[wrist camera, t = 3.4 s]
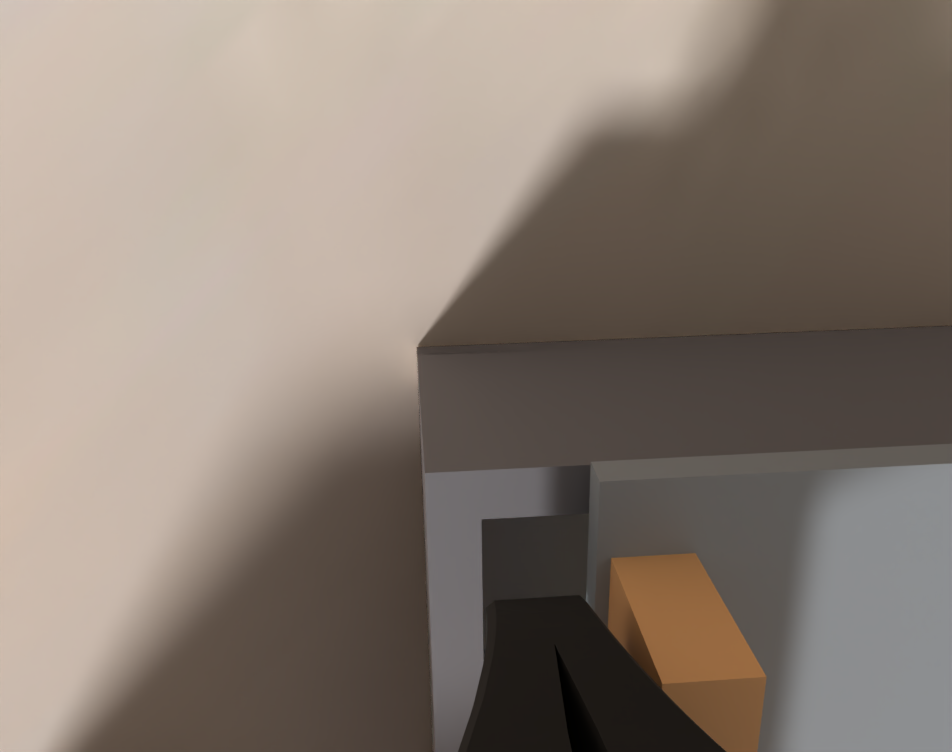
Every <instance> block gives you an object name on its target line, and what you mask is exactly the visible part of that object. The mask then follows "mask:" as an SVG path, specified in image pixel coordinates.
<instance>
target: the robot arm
mask: <svg viewBox="0 0 952 752" xmlns="http://www.w3.org/2000/svg"><path fill="white" fill-rule="evenodd" d="M485 609H486V649H485V656H484V662H483V667H482V672H481V676H480V680H479V684H478V688H477V692H476V696H475V700H474V704H473V708H472V711H471V714H470V717H469V720H468V723H467V726H466V729H465V732H464V735H463V738H462V741H461V744H460V747H459V750H458V752H726V751H725V750H724V749H723V748H722V747H721V746H720V745H718V744H717V743H716V742H715V741H714V740H713V739H712V738H711V737H710V736H709V735H708V734H707V733H706V732H704V731H703V730H702V729H701V728H700V727H699V726H698V725H697V724H696V723H695V722H694V721H693V720H692V719H691V718H690V717H689V716H688V715H687V714H686V713H685V712H684V711H683V710H682V709H681V708H680V707H679V706H678V705H677V704H676V703H674V702H673V701H672V699H671V698H670V697H669V696H668V695H667V694H666V693H665V692H664V691H663V690H662V689H661V688H660V687H659V686H658V685H657V684H656V683H655V681H654V680H653V679H652V678H651V677H650V676H649V675H648V674H647V673H646V672H645V671H644V670H643V669H642V668H641V666H640V665H639V664H638V663H637V662H636V661H635V660H634V659H633V657H632V656H631V655H630V654H629V653H628V652H627V651H626V649H625V648H624V647H623V646H622V645H621V643H620V642H619V641H618V640H617V639H616V638H615V636H614V635H613V634H612V633H611V632H610V630H609V629H608V628H607V627H606V625H605V624H604V623H603V622H602V621H601V619H600V618H599V617H598V616H597V614H596V613H595V612H594V610H593V609H592V608H591V607H590V605H589V604H588V603H587V602H586V601H585V600H584V599H583V598H582V597H581V596H580V595H571V596H555V597H539V598H524V599H508V600H494V601H493V602H492V603H491V604H490V605H488V606H487V607H486V608H485Z"/></svg>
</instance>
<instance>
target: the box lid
mask: <svg viewBox="0 0 952 752" xmlns="http://www.w3.org/2000/svg"><path fill="white" fill-rule="evenodd" d="M586 602H587V603H588V604H589V605H590V607H591V608H592V609H593V610H594V612H595V613H596V614H597V616H598V617H599V618H600V619H601V621H602V622H603V623H604V624H605V625H606V627H607V628H608V629H609V630H610V632H611V633H612V634H613V635H614V636H615V638H616V639H617V640H618V641H619V642H620V643H621V645H622V646H623V647H624V648H625V649H626V651H627V652H628V653H629V654H630V655H631V656H632V657H633V659H634V660H635V661H636V662H637V663H638V664H639V665H640V666H641V668H642V669H643V670H644V671H645V672H646V673H647V674H648V675H649V676H650V677H651V678H652V679H653V680H654V681H655V683H656V684H657V685H658V686H659V687H660V688H661V689H662V690H663V691H664V692H665V693H666V694H667V695H668V696H669V697H670V698H671V699H672V701H673V702H674V703H676V704H677V705H678V706H679V707H680V708H681V709H682V710H683V711H684V712H685V713H686V714H687V715H688V716H689V717H690V718H691V719H692V720H693V721H694V722H695V723H696V724H697V725H698V726H699V727H700V728H701V729H702V730H703V731H704V732H706V733H707V734H708V735H709V736H710V737H711V738H712V739H713V740H714V741H715V742H716V743H717V744H718V745H720V746H721V747H722V748H723V749H724V750H725V751H726V752H952V444H936V445H916V446H896V447H876V448H856V449H836V450H816V451H796V452H776V453H756V454H736V455H716V456H696V457H676V458H656V459H636V460H616V461H596V462H591V470H590V498H589V527H588V556H587V584H586Z"/></svg>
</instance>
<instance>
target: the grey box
mask: <svg viewBox="0 0 952 752" xmlns="http://www.w3.org/2000/svg"><path fill="white" fill-rule="evenodd" d="M417 368H418V393H419V418H420V443H421V468H422V494H423V519H424V544H425V569H426V594H427V619H428V644H429V669H430V694H431V720H432V745H433V752H458V750H459V747H460V744H461V741H462V738H463V735H464V732H465V729H466V726H467V723H468V720H469V717H470V714H471V711H472V708H473V704H474V700H475V696H476V692H477V688H478V684H479V680H480V676H481V672H482V667H483V662H484V656H485V649H486V609H485V608H486V607H487V606H488V605H490V604H491V603H492V602H493V601H494V600H508V599H524V598H539V597H555V596H571V595H580V596H581V597H582V598H583V599H584V600H585V601H586V584H587V556H588V527H589V498H590V470H591V462H596V461H616V460H636V459H656V458H676V457H696V456H716V455H736V454H756V453H776V452H796V451H816V450H836V449H856V448H876V447H896V446H916V445H936V444H952V326H934V327H909V328H884V329H859V330H834V331H809V332H784V333H760V334H735V335H710V336H685V337H660V338H635V339H611V340H586V341H561V342H536V343H511V344H486V345H461V346H437V347H417Z"/></svg>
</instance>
